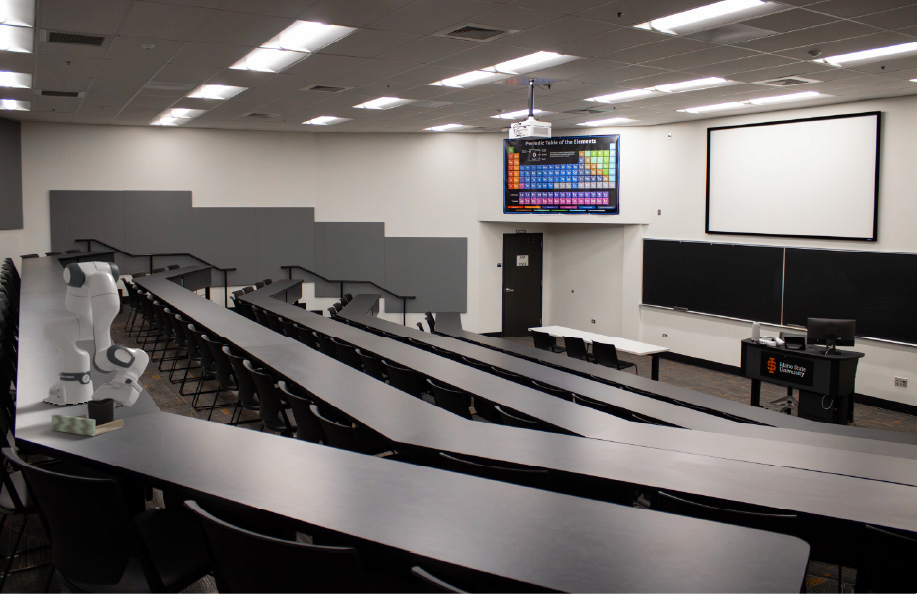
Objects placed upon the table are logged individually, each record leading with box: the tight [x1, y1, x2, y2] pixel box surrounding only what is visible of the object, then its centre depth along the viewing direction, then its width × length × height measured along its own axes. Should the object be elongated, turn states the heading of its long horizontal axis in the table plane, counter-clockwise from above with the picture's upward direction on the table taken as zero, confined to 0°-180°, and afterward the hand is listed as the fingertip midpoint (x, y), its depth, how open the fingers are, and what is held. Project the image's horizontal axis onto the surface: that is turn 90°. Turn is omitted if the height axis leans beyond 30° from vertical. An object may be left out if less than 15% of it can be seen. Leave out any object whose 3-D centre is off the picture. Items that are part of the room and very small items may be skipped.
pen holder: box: [86, 398, 115, 426], centre depth 278 cm, size 9×9×10 cm
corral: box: [51, 413, 125, 437], centre depth 273 cm, size 21×15×6 cm
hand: (104, 412), depth 280 cm, fingers closed, pressing on pen holder
